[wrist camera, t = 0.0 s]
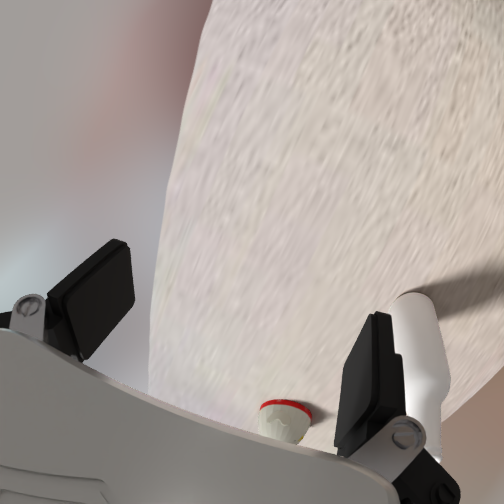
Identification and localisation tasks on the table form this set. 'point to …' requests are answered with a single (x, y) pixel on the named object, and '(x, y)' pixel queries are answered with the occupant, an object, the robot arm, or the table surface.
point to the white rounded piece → (284, 420)
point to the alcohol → (422, 363)
